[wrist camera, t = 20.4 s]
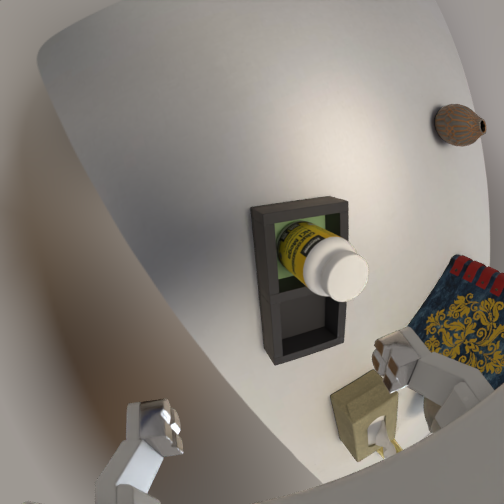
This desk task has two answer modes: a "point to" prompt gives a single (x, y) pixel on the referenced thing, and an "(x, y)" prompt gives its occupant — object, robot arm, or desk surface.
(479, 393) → the robot arm
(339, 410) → the tissue box
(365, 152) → the desk surface
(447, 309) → the book
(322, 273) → the pill bottle
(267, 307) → the holder
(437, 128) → the vase
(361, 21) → the desk surface
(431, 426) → the bowl
